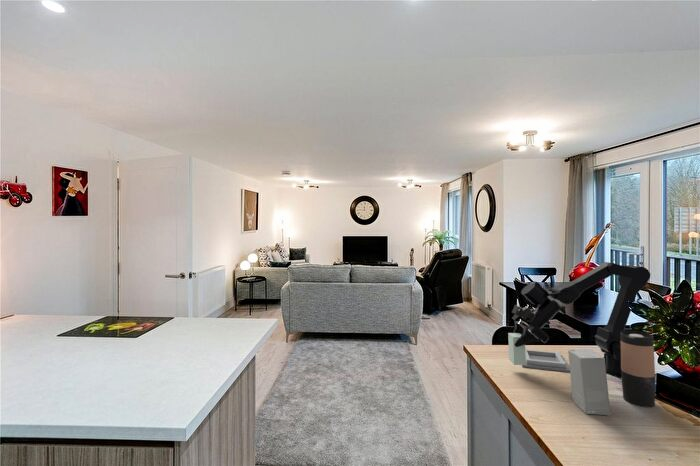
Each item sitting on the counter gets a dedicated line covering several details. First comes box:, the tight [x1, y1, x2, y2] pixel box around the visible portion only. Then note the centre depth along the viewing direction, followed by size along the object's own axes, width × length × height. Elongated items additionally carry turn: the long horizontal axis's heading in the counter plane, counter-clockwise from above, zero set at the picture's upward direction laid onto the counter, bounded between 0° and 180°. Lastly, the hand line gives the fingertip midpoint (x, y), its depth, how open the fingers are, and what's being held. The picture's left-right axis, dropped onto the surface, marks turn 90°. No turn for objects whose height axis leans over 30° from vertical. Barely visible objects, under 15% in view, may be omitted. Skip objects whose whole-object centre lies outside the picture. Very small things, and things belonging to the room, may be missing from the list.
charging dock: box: [521, 348, 570, 373], centre depth 130 cm, size 16×16×2 cm
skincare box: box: [567, 349, 611, 416], centre depth 96 cm, size 8×7×16 cm
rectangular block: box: [507, 332, 526, 366], centre depth 122 cm, size 4×5×10 cm
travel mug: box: [620, 330, 656, 408], centre depth 99 cm, size 8×8×20 cm
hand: (512, 343), depth 122 cm, fingers closed on rectangular block, 5 cm apart
